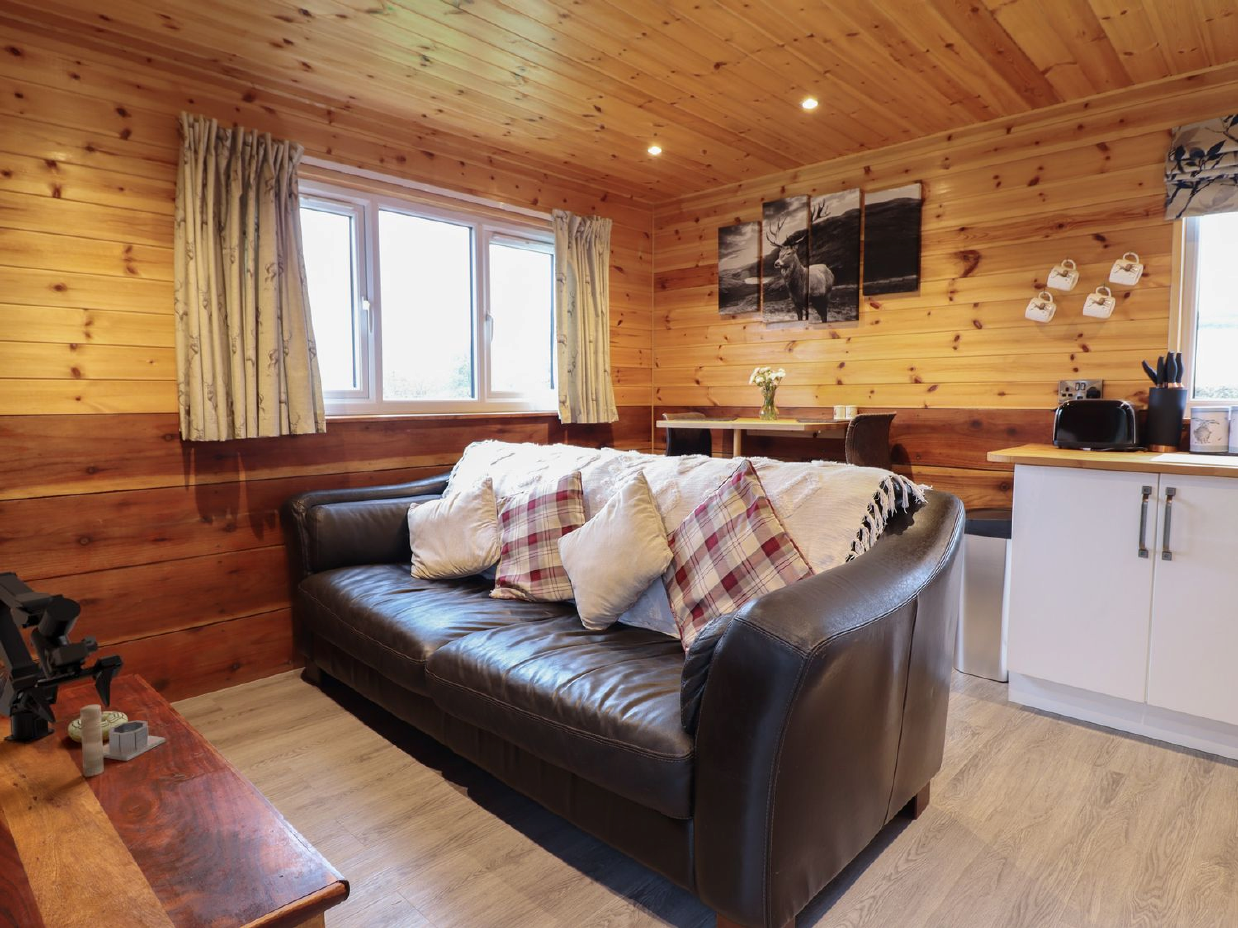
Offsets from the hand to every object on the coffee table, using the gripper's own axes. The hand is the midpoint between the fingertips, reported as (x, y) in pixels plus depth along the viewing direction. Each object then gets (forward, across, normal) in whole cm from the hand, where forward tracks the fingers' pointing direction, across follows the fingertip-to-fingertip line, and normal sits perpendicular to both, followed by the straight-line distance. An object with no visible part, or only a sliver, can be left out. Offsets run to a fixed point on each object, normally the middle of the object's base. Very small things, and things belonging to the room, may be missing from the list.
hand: (81, 714), depth 143 cm
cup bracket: (+6, +9, +9) cm, 14 cm away
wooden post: (+10, 0, +5) cm, 11 cm away
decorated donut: (-2, +8, +18) cm, 20 cm away
